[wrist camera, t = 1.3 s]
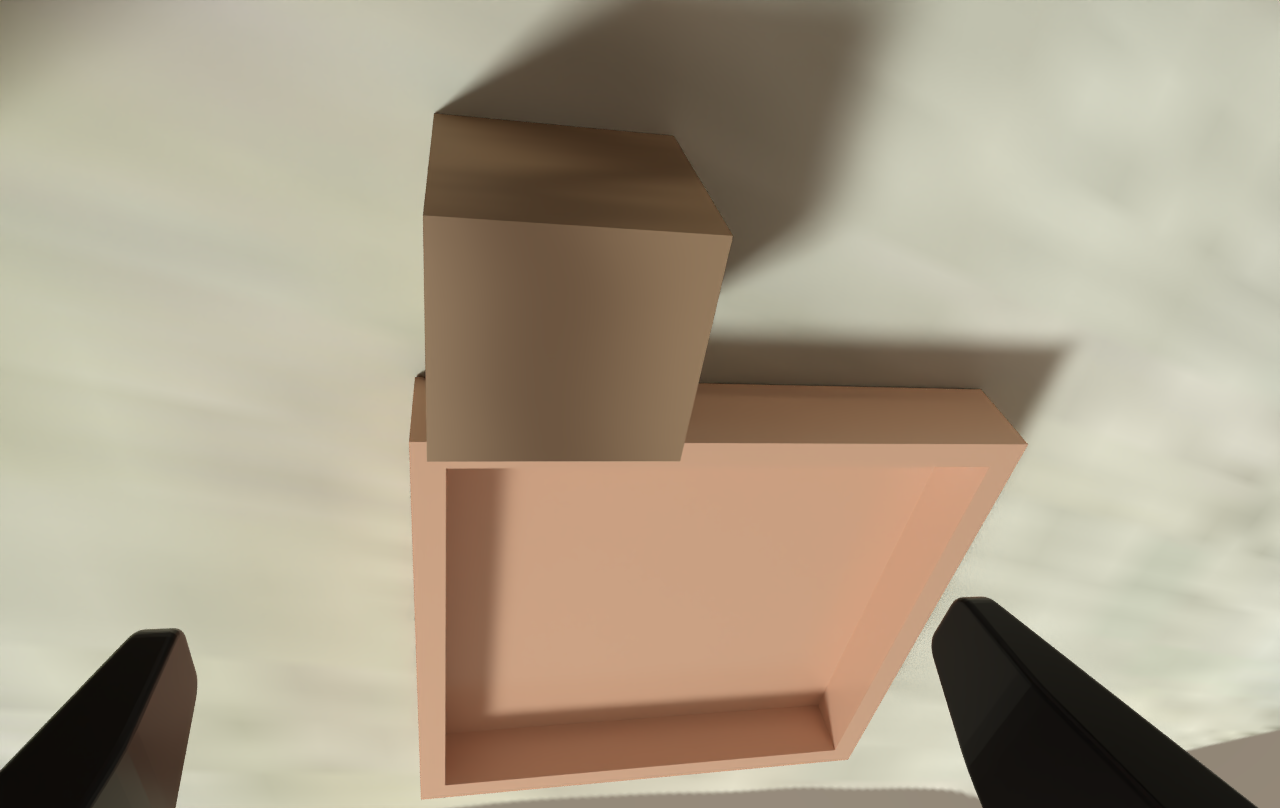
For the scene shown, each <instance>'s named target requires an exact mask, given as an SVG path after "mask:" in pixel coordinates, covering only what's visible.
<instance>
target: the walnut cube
mask: <svg viewBox="0 0 1280 808" xmlns="http://www.w3.org/2000/svg"><path fill="white" fill-rule="evenodd" d="M732 238H733V235H732V233H731V232H730V230H729V228H728V227H727V225H726V223H725V222H724V220H723V218H722V216H721V215H720V213H719V211H718V210H717V208H716V206H715V205H714V203H713V201H712V200H711V198H710V196H709V195H708V193H707V191H706V189H705V188H704V186H703V184H702V183H701V181H700V179H699V178H698V176H697V174H696V173H695V171H694V169H693V168H692V166H691V164H690V163H689V161H688V159H687V157H686V156H685V154H684V152H683V151H682V149H681V147H680V146H679V144H678V142H677V141H676V139H675V137H674V136H670V135H660V134H649V133H638V132H628V131H617V130H607V129H596V128H585V127H575V126H564V125H554V124H543V123H532V122H522V121H511V120H501V119H490V118H479V117H469V116H458V115H448V114H437V113H434V119H433V128H432V138H431V147H430V156H429V165H428V174H427V183H426V192H425V202H424V211H423V247H424V309H425V371H426V433H427V462H504V461H680V460H681V456H682V451H683V447H684V443H685V439H686V434H687V430H688V426H689V422H690V417H691V413H692V409H693V404H694V400H695V396H696V392H697V387H698V383H699V379H700V375H701V370H702V366H703V362H704V358H705V353H706V349H707V345H708V341H709V336H710V332H711V328H712V324H713V319H714V315H715V311H716V306H717V302H718V298H719V294H720V289H721V285H722V281H723V277H724V272H725V268H726V264H727V260H728V255H729V251H730V247H731V243H732Z"/></svg>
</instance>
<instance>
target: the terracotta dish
mask: <svg viewBox="0 0 1280 808" xmlns="http://www.w3.org/2000/svg"><path fill="white" fill-rule="evenodd" d="M1027 445H1028V444H1027V443H1026V441H1025V440H1024V439H1023V438H1022V437H1021V436H1020V434H1019V433H1018V432H1017V431H1016V430H1015V429H1014V427H1013V426H1012V425H1011V424H1010V423H1009V422H1008V420H1007V419H1006V418H1005V417H1004V416H1003V415H1002V413H1001V412H1000V411H999V410H998V409H997V407H996V406H995V405H994V404H993V403H992V402H991V400H990V399H989V398H988V397H987V396H986V395H985V393H984V392H983V391H982V390H981V389H939V388H893V387H847V386H801V385H755V384H709V383H698V387H697V392H696V396H695V400H694V404H693V409H692V413H691V417H690V422H689V426H688V430H687V434H686V439H685V443H684V447H683V451H682V456H681V460H680V461H504V462H427V433H426V377H415V383H414V394H413V405H412V416H411V427H410V438H409V454H410V484H411V514H412V544H413V573H414V603H415V633H416V663H417V693H418V723H419V753H420V783H421V800H422V799H432V798H443V797H454V796H464V795H475V794H486V793H496V792H507V791H518V790H528V789H539V788H550V787H560V786H571V785H582V784H592V783H603V782H614V781H624V780H635V779H646V778H656V777H667V776H678V775H688V774H699V773H710V772H720V771H731V770H741V769H752V768H763V767H773V766H784V765H795V764H805V763H816V762H827V761H837V760H848V759H849V757H850V755H851V753H852V752H853V750H854V748H855V746H856V745H857V743H858V741H859V739H860V738H861V736H862V734H863V732H864V731H865V729H866V727H867V725H868V724H869V722H870V720H871V718H872V717H873V715H874V713H875V711H876V710H877V708H878V706H879V704H880V703H881V701H882V699H883V697H884V696H885V694H886V692H887V690H888V689H889V687H890V685H891V683H892V682H893V680H894V678H895V676H896V675H897V673H898V671H899V669H900V668H901V666H902V664H903V662H904V661H905V659H906V657H907V655H908V654H909V652H910V650H911V648H912V647H913V645H914V643H915V641H916V640H917V638H918V636H919V634H920V633H921V631H922V629H923V627H924V626H925V624H926V622H927V620H928V619H929V617H930V615H931V613H932V612H933V610H934V608H935V606H936V605H937V603H938V601H939V599H940V598H941V596H942V594H943V592H944V591H945V589H946V587H947V585H948V584H949V582H950V580H951V578H952V577H953V575H954V573H955V571H956V570H957V568H958V566H959V564H960V563H961V561H962V559H963V557H964V556H965V554H966V552H967V550H968V549H969V547H970V545H971V543H972V542H973V540H974V538H975V536H976V535H977V533H978V531H979V529H980V528H981V526H982V524H983V522H984V521H985V519H986V517H987V515H988V514H989V512H990V510H991V508H992V507H993V505H994V503H995V501H996V500H997V498H998V496H999V494H1000V493H1001V491H1002V489H1003V487H1004V486H1005V484H1006V482H1007V480H1008V479H1009V477H1010V475H1011V473H1012V472H1013V470H1014V468H1015V466H1016V465H1017V463H1018V461H1019V459H1020V458H1021V456H1022V454H1023V452H1024V451H1025V449H1026V447H1027Z"/></svg>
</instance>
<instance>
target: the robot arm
mask: <svg viewBox="0 0 1280 808" xmlns="http://www.w3.org/2000/svg"><path fill="white" fill-rule="evenodd" d="M932 654H933V658H934V662H935V665H936V668H937V672H938V675H939V678H940V682H941V685H942V688H943V692H944V695H945V698H946V702H947V705H948V708H949V712H950V715H951V718H952V721H953V725H954V728H955V731H956V735H957V738H958V741H959V745H960V748H961V751H962V754H963V757H964V760H965V763H966V766H967V769H968V772H969V774H970V777H971V780H972V782H973V785H974V788H975V790H976V793H977V795H978V797H979V800H980V802H981V804H982V807H983V808H1258V807H1257V806H1255V805H1254V804H1253V803H1251V802H1250V801H1249V800H1248V799H1246V798H1245V797H1244V796H1243V795H1241V794H1240V793H1238V792H1237V791H1236V790H1235V789H1234V788H1232V787H1231V786H1230V785H1229V784H1227V783H1226V782H1225V781H1223V780H1222V779H1221V778H1220V777H1218V776H1217V775H1216V774H1214V773H1213V772H1212V771H1211V770H1209V769H1208V768H1207V767H1205V766H1204V765H1203V764H1201V763H1200V762H1199V761H1198V760H1197V759H1195V758H1194V757H1193V756H1191V755H1190V754H1189V753H1188V752H1186V751H1185V750H1184V749H1183V748H1181V747H1180V746H1179V745H1177V744H1176V743H1175V742H1174V741H1172V740H1171V739H1170V738H1169V737H1167V736H1166V735H1165V734H1163V733H1162V732H1161V731H1160V730H1158V729H1157V728H1156V727H1155V726H1153V725H1152V724H1151V723H1149V722H1148V721H1147V720H1146V719H1144V718H1143V717H1142V716H1140V715H1139V714H1138V713H1137V712H1135V711H1134V710H1133V709H1132V708H1130V707H1129V706H1128V705H1126V704H1125V703H1124V702H1123V701H1121V700H1120V699H1119V698H1118V697H1116V696H1115V695H1114V694H1112V693H1111V692H1110V691H1109V690H1107V689H1106V688H1105V687H1103V686H1102V685H1101V684H1100V683H1098V682H1097V681H1096V680H1095V679H1093V678H1092V677H1091V676H1089V675H1088V674H1087V673H1086V672H1084V671H1083V670H1082V669H1081V668H1079V667H1078V666H1077V665H1075V664H1074V663H1073V662H1072V661H1070V660H1069V659H1068V658H1067V657H1065V656H1064V655H1063V654H1061V653H1060V652H1059V651H1058V650H1056V649H1055V648H1054V647H1052V646H1051V645H1050V644H1049V643H1047V642H1046V641H1045V640H1044V639H1042V638H1041V637H1040V636H1038V635H1037V634H1036V633H1035V632H1033V631H1032V630H1031V629H1030V628H1028V627H1027V626H1026V625H1024V624H1023V623H1022V622H1021V621H1019V620H1018V619H1017V618H1015V617H1014V616H1013V615H1012V614H1010V613H1009V612H1008V611H1007V610H1005V609H1004V608H1003V607H1001V606H1000V605H999V604H998V603H996V602H995V601H993V600H992V599H990V598H987V597H962V598H958V599H956V600H955V601H954V602H953V603H952V605H951V606H950V608H949V610H948V611H947V613H946V615H945V616H944V618H943V620H942V621H941V623H940V625H939V626H938V628H937V630H936V631H935V633H934V635H933V638H932ZM196 695H197V675H196V671H195V667H194V664H193V661H192V657H191V654H190V650H189V647H188V644H187V640H186V637H185V635H184V633H183V632H182V631H181V630H179V629H176V628H169V629H145V630H140V631H138V632H136V633H134V634H133V635H131V636H130V637H129V638H128V639H127V640H126V641H125V642H124V643H123V644H122V645H121V646H120V647H119V648H118V649H117V650H116V651H115V652H114V653H113V654H112V655H111V656H110V657H109V658H108V660H107V661H106V662H105V663H104V664H103V665H102V666H101V667H100V668H99V669H98V670H97V671H96V672H95V673H94V674H93V675H92V676H91V677H90V678H89V679H88V680H87V681H86V682H85V683H84V684H83V685H82V686H81V687H80V689H79V690H78V691H77V692H76V693H75V694H74V695H73V696H72V697H71V698H70V699H69V700H68V701H67V702H66V703H65V704H64V705H63V706H62V707H61V708H60V709H59V710H58V711H57V712H56V713H55V714H54V715H53V716H52V717H51V719H50V720H49V721H48V722H47V723H46V724H45V725H44V726H43V727H42V728H41V729H40V730H39V731H38V732H37V733H36V734H35V735H34V736H33V737H32V738H31V739H30V740H29V741H28V742H27V743H26V744H25V745H24V746H23V748H22V749H21V750H20V751H19V752H18V753H17V754H16V755H15V756H14V757H13V758H12V759H11V760H10V761H9V762H8V763H7V764H6V765H5V766H4V767H3V768H2V769H1V770H0V808H175V807H176V802H177V797H178V791H179V786H180V781H181V775H182V770H183V765H184V759H185V754H186V749H187V744H188V738H189V733H190V728H191V722H192V717H193V712H194V706H195V701H196Z"/></svg>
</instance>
